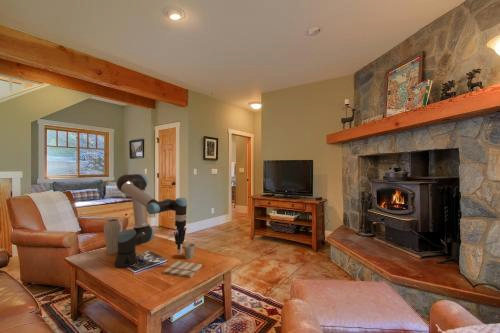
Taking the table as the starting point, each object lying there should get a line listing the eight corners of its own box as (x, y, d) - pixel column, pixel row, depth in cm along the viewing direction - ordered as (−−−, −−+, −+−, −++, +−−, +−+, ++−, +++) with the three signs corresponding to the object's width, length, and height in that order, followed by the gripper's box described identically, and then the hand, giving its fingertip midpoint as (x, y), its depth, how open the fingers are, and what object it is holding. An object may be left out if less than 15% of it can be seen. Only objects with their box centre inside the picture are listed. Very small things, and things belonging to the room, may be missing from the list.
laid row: (161, 274, 156) (161, 271, 156) (175, 263, 172) (175, 261, 172) (191, 279, 150) (191, 276, 150) (203, 267, 167) (203, 265, 167)
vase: (125, 251, 193) (125, 219, 193) (108, 257, 182) (108, 223, 182) (116, 248, 200) (116, 217, 200) (99, 253, 189) (100, 220, 189)
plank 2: (182, 271, 160) (182, 269, 160) (189, 264, 169) (189, 262, 169) (195, 273, 158) (195, 270, 157) (201, 266, 166) (201, 264, 166)
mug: (191, 260, 178) (192, 247, 178) (176, 259, 181) (176, 246, 180) (196, 256, 186) (196, 244, 186) (181, 255, 189) (182, 242, 189)
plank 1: (169, 269, 163) (169, 267, 162) (176, 262, 171) (176, 260, 171) (181, 270, 160) (181, 268, 160) (188, 264, 169) (188, 262, 169)
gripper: (180, 223, 159) (179, 257, 160) (190, 218, 172) (188, 250, 172) (170, 221, 161) (169, 255, 162) (180, 217, 174) (179, 249, 174)
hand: (179, 253), depth 167 cm, fingers closed
